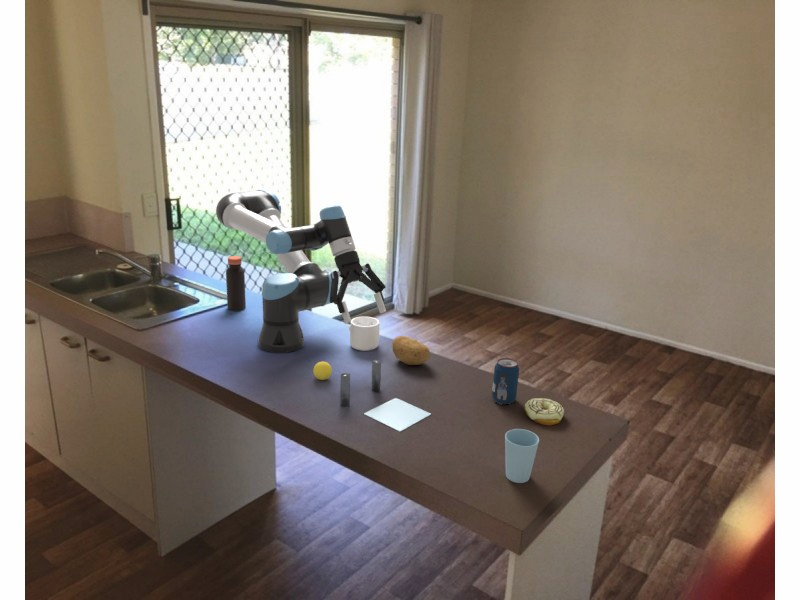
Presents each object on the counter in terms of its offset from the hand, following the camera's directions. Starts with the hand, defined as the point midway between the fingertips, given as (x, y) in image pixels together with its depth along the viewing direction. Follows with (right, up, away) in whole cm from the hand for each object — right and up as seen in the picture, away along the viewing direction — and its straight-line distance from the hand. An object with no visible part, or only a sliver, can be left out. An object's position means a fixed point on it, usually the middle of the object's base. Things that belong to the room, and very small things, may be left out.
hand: (366, 317), depth 204 cm
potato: (+14, -15, +5) cm, 21 cm away
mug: (-1, -10, +17) cm, 20 cm away
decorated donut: (+50, -27, -24) cm, 62 cm away
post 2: (+4, -21, -14) cm, 25 cm away
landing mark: (+10, -26, -27) cm, 38 cm away
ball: (-13, -16, -9) cm, 22 cm away
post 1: (-5, -23, -23) cm, 33 cm away
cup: (+38, -36, -52) cm, 74 cm away
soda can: (+40, -23, -16) cm, 50 cm away
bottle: (-52, +2, +46) cm, 70 cm away
